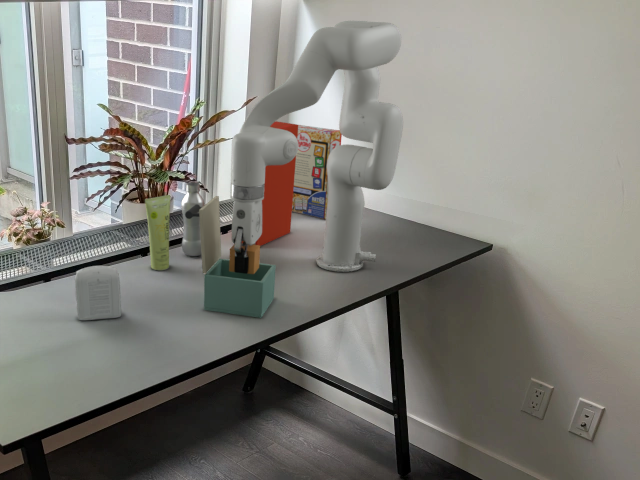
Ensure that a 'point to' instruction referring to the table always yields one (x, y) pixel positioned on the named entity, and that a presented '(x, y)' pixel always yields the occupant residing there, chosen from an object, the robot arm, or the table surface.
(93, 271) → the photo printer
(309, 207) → the board game
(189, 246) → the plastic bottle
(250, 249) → the orange cube
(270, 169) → the file binder
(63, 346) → the table surface
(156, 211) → the tube
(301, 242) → the table surface
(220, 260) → the open storage box
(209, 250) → the lid
